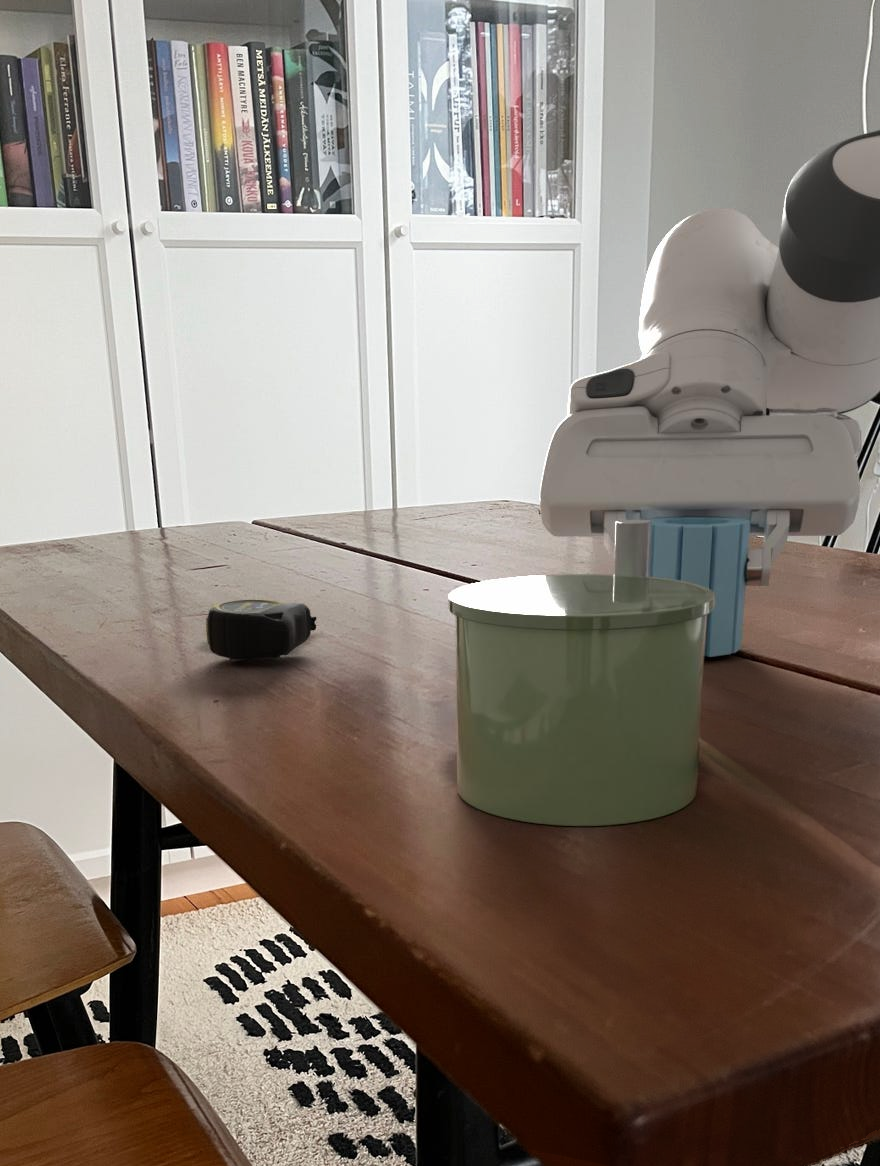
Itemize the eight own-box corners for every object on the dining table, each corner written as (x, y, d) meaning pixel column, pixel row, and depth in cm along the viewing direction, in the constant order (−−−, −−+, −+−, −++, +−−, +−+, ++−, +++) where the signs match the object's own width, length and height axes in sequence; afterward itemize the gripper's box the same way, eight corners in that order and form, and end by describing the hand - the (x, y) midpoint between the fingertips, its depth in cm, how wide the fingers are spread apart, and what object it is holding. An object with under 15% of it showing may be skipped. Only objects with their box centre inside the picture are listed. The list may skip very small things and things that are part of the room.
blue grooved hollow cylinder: (716, 635, 85) (724, 514, 83) (756, 654, 79) (765, 523, 76) (625, 640, 85) (630, 517, 82) (658, 660, 78) (664, 528, 76)
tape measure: (289, 670, 85) (285, 614, 83) (193, 667, 86) (189, 612, 85) (318, 650, 91) (315, 597, 90) (228, 648, 93) (225, 596, 91)
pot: (676, 841, 52) (691, 568, 48) (413, 813, 56) (407, 560, 52) (745, 723, 69) (760, 515, 65) (540, 709, 73) (542, 513, 69)
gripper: (853, 443, 86) (856, 611, 81) (553, 448, 90) (536, 608, 85) (868, 373, 80) (873, 548, 75) (547, 382, 85) (529, 548, 79)
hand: (691, 580), depth 80 cm, fingers closed on blue grooved hollow cylinder, 6 cm apart
